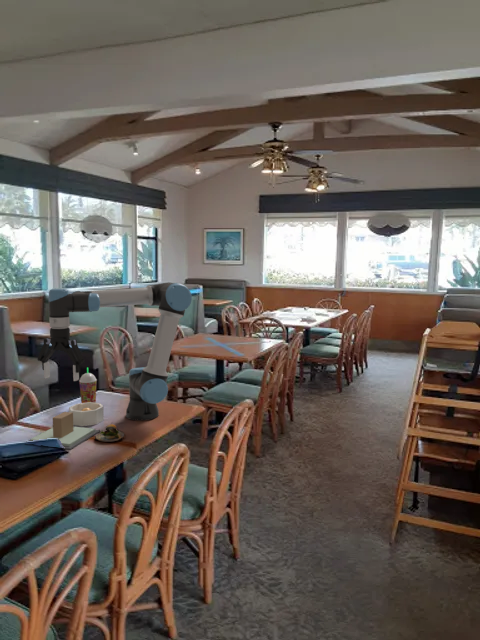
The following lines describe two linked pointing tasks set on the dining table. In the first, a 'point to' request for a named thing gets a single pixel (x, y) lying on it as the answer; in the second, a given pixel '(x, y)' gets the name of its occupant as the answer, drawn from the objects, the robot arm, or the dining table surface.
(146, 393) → the robot arm
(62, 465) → the dining table surface
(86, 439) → the mat
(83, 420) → the bowl
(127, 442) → the dining table surface
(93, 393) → the smoothie
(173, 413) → the dining table surface
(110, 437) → the burger
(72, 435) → the lid
